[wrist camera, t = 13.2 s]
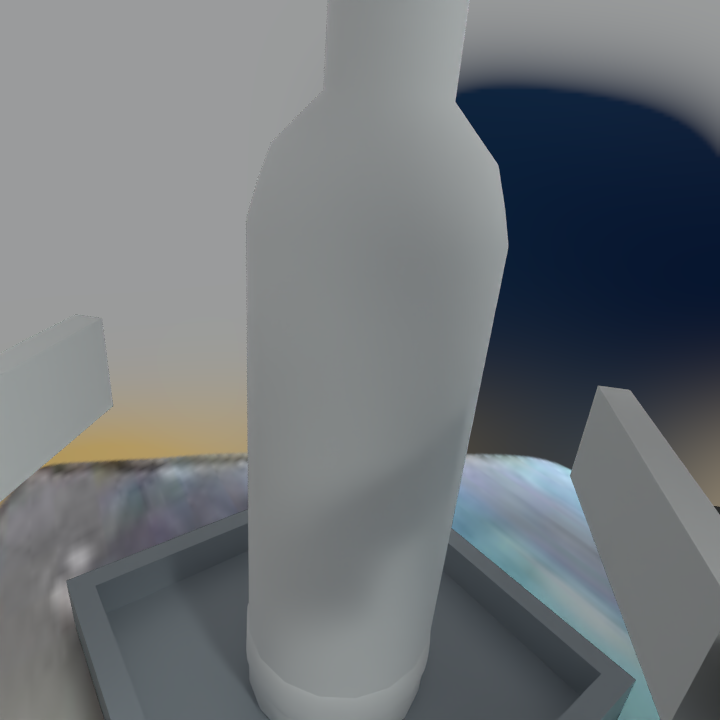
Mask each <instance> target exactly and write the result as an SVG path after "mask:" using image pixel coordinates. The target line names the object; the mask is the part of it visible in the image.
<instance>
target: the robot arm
mask: <svg viewBox="0 0 720 720" xmlns="http://www.w3.org/2000/svg"><path fill="white" fill-rule="evenodd" d="M111 407H113V401H112V393H111V385H110V377H109V369H108V361H107V353H106V346H105V338H104V330H103V322H102V318H99V317H91V316H84V315H77V314H76V315H74V316H72V317H70V318H68V319H66V320H64V321H62V322H60V323H58V324H56V325H54V326H52V327H50V328H48V329H46V330H44V331H42V332H40V333H38V334H36V335H34V336H32V337H30V338H28V339H26V340H24V341H22V342H21V343H19V344H17V345H15V346H13V347H11V348H9V349H7V350H5V351H3V352H1V353H0V502H1V501H2V500H3V499H4V498H5V497H6V496H8V495H9V494H10V493H11V492H12V491H14V490H15V489H16V488H17V487H18V486H19V485H21V484H22V483H23V482H24V481H25V480H27V479H28V478H29V477H30V476H31V475H32V474H34V473H35V472H36V471H37V470H38V469H39V468H41V467H42V466H43V465H44V464H45V463H46V462H48V461H49V460H50V459H51V458H52V457H53V456H55V455H56V454H57V453H58V452H60V451H61V450H62V449H63V448H64V447H65V446H67V445H68V444H69V443H70V442H71V441H72V440H74V439H75V438H76V437H77V436H78V435H80V434H81V433H82V432H83V431H84V430H85V429H87V428H88V427H89V426H90V425H91V424H93V423H94V422H95V421H96V420H97V419H98V418H100V417H101V416H102V415H103V414H104V413H105V412H107V411H108V410H109V409H110V408H111ZM570 477H571V480H572V482H573V485H574V488H575V490H576V493H577V496H578V498H579V501H580V504H581V507H582V509H583V512H584V515H585V517H586V520H587V523H588V525H589V528H590V531H591V533H592V536H593V539H594V542H595V544H596V547H597V550H598V552H599V555H600V558H601V560H602V563H603V566H604V569H605V571H606V574H607V577H608V579H609V582H610V585H611V587H612V590H613V593H614V596H615V598H616V601H617V604H618V606H619V609H620V612H621V614H622V617H623V620H624V622H625V625H626V628H627V631H628V633H629V636H630V639H631V641H632V644H633V647H634V649H635V652H636V655H637V658H638V660H639V663H640V666H641V668H642V671H643V674H644V676H645V679H646V682H647V685H648V687H649V690H650V693H651V695H652V698H653V701H654V703H655V706H656V709H657V711H658V714H659V717H660V720H720V507H717V506H713V505H712V503H711V502H710V500H709V499H708V498H707V496H706V495H705V494H704V492H703V491H702V490H701V488H700V487H699V485H698V484H697V483H696V481H695V480H694V478H693V477H692V476H691V474H690V473H689V471H688V470H687V469H686V467H685V466H684V464H683V463H682V462H681V461H680V459H679V457H678V456H677V455H676V453H675V452H674V451H673V449H672V448H671V446H670V445H669V444H668V442H667V441H666V439H665V438H664V437H663V435H662V434H661V433H660V431H659V430H658V428H657V427H656V426H655V424H654V423H653V421H652V420H651V419H650V417H649V416H648V414H647V413H646V412H645V410H644V409H643V407H641V405H640V403H639V402H638V401H637V399H636V398H635V396H634V395H633V394H632V392H631V391H630V390H625V389H618V388H610V387H603V386H598V388H597V391H596V394H595V397H594V401H593V404H592V407H591V410H590V414H589V417H588V420H587V423H586V427H585V430H584V433H583V436H582V439H581V443H580V446H579V449H578V452H577V455H576V459H575V462H574V465H573V468H572V472H571V475H570Z"/></svg>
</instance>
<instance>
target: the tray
mask: <svg viewBox="0 0 720 720" xmlns="http://www.w3.org/2000/svg"><path fill="white" fill-rule="evenodd" d="M66 582H67V587H68V592H69V597H70V601H71V606H72V611H73V616H74V621H75V626H76V629H77V632H78V635H79V639H80V642H81V645H82V648H83V652H84V655H85V658H86V661H87V664H88V668H89V671H90V674H91V677H92V680H93V684H94V687H95V690H96V693H97V697H98V700H99V703H100V706H101V709H102V713H103V716H104V719H105V720H270V719H269V718H268V717H267V716H266V715H265V714H264V713H263V712H262V710H261V709H260V707H259V704H258V702H257V699H256V697H255V694H254V691H253V689H252V686H251V684H250V681H249V664H248V661H247V652H246V637H247V606H248V603H249V563H248V509H247V510H244V511H242V512H239V513H237V514H234V515H232V516H229V517H227V518H224V519H222V520H219V521H217V522H214V523H211V524H209V525H206V526H204V527H201V528H199V529H196V530H194V531H191V532H189V533H186V534H184V535H181V536H178V537H176V538H173V539H171V540H168V541H166V542H163V543H161V544H158V545H156V546H153V547H151V548H148V549H145V550H143V551H140V552H138V553H135V554H133V555H130V556H128V557H125V558H123V559H120V560H118V561H115V562H113V563H110V564H107V565H105V566H102V567H100V568H97V569H95V570H92V571H90V572H87V573H85V574H82V575H80V576H77V577H74V578H72V579H69V580H67V581H66ZM635 681H636V680H635V679H634V678H633V677H632V676H630V675H629V674H628V673H627V672H626V671H624V670H623V669H622V668H621V667H620V666H618V665H617V664H616V663H615V662H613V661H612V660H611V659H610V658H609V657H607V656H606V655H605V654H604V653H603V652H601V651H600V650H599V649H598V648H596V647H595V646H594V645H593V644H592V643H590V642H589V641H588V640H587V639H586V638H584V637H583V636H582V635H581V634H579V633H578V632H577V631H576V630H575V629H573V628H572V627H571V626H570V625H569V624H567V623H566V622H565V621H564V620H562V619H561V618H560V617H559V616H558V615H556V614H555V613H554V612H553V611H552V610H550V609H549V608H548V607H547V606H545V605H544V604H543V603H542V602H541V601H539V600H538V599H537V598H536V597H535V596H533V595H532V594H531V593H530V592H528V591H527V590H526V589H525V588H524V587H522V586H521V585H520V584H519V583H518V582H516V581H515V580H514V579H513V578H512V577H510V576H509V575H508V574H507V573H505V572H504V571H503V570H502V569H501V568H499V567H498V566H497V565H496V564H495V563H493V562H492V561H491V560H490V559H488V558H487V557H486V556H485V555H484V554H482V553H481V552H480V551H479V550H478V549H476V548H475V547H474V546H473V545H471V544H470V543H469V542H468V541H467V540H465V539H464V538H463V537H462V536H461V535H459V534H458V533H457V532H456V531H454V530H453V529H452V528H451V532H450V537H449V542H448V547H447V551H446V556H445V561H444V566H443V571H442V576H441V581H440V586H439V591H438V596H437V601H436V606H435V611H434V616H433V621H432V626H431V632H430V646H429V654H428V659H427V663H426V667H425V670H424V672H423V674H422V676H421V680H420V685H419V690H418V692H417V694H416V696H415V698H414V700H413V702H412V704H411V706H410V708H409V710H408V712H407V714H406V716H405V717H404V718H403V719H402V720H617V719H618V717H619V715H620V713H621V711H622V708H623V706H624V704H625V702H626V700H627V698H628V696H629V693H630V691H631V689H632V687H633V685H634V683H635Z"/></svg>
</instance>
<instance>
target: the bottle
mask: <svg viewBox="0 0 720 720" xmlns="http://www.w3.org/2000/svg"><path fill="white" fill-rule="evenodd" d="M469 1H470V0H328V6H327V27H326V47H325V67H324V69H325V70H324V88H323V91H322V92H321V93H320V94H319V95H318V96H317V97H316V98H315V99H314V100H313V101H312V102H311V103H310V104H309V105H308V106H307V107H306V108H305V109H304V110H303V111H302V112H301V113H300V114H299V115H298V116H297V117H296V118H295V119H294V120H293V121H292V122H291V123H290V124H289V125H288V126H287V127H286V128H285V129H284V130H283V131H282V132H281V133H280V134H279V135H278V136H277V137H276V138H275V139H274V140H273V141H272V142H271V144H270V146H269V149H268V152H267V155H266V157H265V160H264V163H263V166H262V168H261V171H260V174H259V177H258V180H257V183H256V186H255V190H254V193H253V197H252V200H251V204H250V207H249V211H248V214H247V221H246V260H247V264H246V266H247V400H248V401H247V402H248V404H247V405H248V406H247V408H248V409H247V410H248V411H247V412H248V413H247V414H248V563H249V603H248V606H247V637H246V652H247V661H248V664H249V681H250V684H251V686H252V689H253V691H254V694H255V697H256V699H257V702H258V704H259V707H260V709H261V710H262V712H263V713H264V714H265V715H266V716H267V717H268V718H269V719H270V720H402V719H403V718H404V717H405V716H406V714H407V712H408V710H409V708H410V706H411V704H412V702H413V700H414V698H415V696H416V694H417V692H418V690H419V685H420V680H421V676H422V674H423V672H424V670H425V667H426V663H427V659H428V654H429V646H430V632H431V626H432V621H433V616H434V611H435V606H436V601H437V596H438V591H439V586H440V581H441V576H442V571H443V566H444V561H445V556H446V551H447V547H448V542H449V537H450V532H451V527H452V522H453V517H454V512H455V507H456V502H457V497H458V492H459V487H460V482H461V477H462V472H463V468H464V463H465V458H466V453H467V448H468V442H469V438H470V433H471V428H472V423H473V418H474V413H475V408H476V403H477V398H478V393H479V388H480V384H481V378H482V373H483V369H484V364H485V359H486V354H487V349H488V344H489V339H490V334H491V329H492V324H493V319H494V314H495V309H496V304H497V300H498V294H499V290H500V285H501V280H502V275H503V270H504V265H505V260H506V255H507V250H508V238H507V227H506V216H505V206H504V200H503V193H502V186H501V180H500V174H499V167H498V164H497V163H496V161H495V160H494V158H493V157H492V156H491V154H490V153H489V151H488V150H487V148H486V147H485V145H484V144H483V142H482V141H481V139H480V138H479V136H478V135H477V133H476V132H475V130H474V129H473V127H472V126H471V125H470V123H469V122H468V120H467V119H466V117H465V116H464V114H463V113H462V111H461V110H460V108H459V107H458V105H457V104H456V103H455V99H456V91H457V85H458V78H459V71H460V64H461V57H462V50H463V43H464V36H465V29H466V22H467V15H468V8H469Z"/></svg>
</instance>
